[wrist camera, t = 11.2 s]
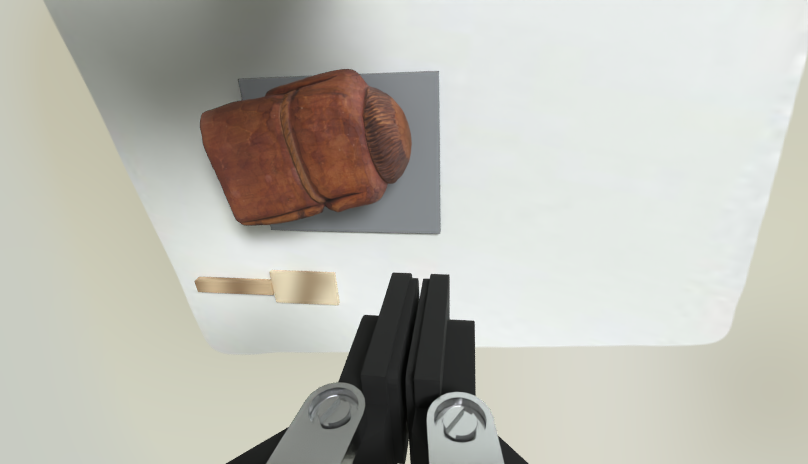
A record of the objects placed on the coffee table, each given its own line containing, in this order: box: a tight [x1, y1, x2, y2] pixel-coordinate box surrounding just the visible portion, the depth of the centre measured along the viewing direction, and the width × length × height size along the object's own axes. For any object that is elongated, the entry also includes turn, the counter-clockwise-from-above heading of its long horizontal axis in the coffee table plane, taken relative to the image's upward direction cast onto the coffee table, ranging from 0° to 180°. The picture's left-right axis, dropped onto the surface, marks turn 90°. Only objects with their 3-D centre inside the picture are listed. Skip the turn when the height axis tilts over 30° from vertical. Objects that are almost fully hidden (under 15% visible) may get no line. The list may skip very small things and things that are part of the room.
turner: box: [195, 270, 340, 305], centre depth 50 cm, size 18×4×1 cm, turn 93°
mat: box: [238, 71, 441, 234], centre depth 41 cm, size 16×19×1 cm
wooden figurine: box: [200, 69, 412, 225], centre depth 37 cm, size 12×6×18 cm
